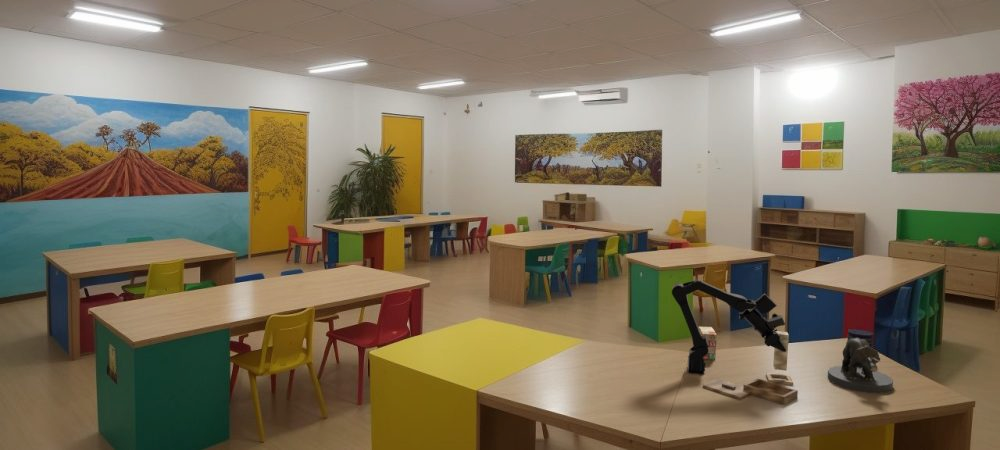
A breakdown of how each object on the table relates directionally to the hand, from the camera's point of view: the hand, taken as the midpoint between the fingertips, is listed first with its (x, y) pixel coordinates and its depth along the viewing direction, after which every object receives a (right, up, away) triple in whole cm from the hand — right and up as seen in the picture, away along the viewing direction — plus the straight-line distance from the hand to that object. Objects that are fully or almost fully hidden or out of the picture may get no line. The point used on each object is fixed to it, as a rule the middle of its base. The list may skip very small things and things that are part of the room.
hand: (784, 349), depth 245 cm
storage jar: (+44, -12, +23) cm, 51 cm away
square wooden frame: (-1, -13, +2) cm, 14 cm away
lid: (-27, -14, -9) cm, 32 cm away
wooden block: (-1, -8, +1) cm, 8 cm away
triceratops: (+31, -14, +1) cm, 34 cm away
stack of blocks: (-20, -10, +39) cm, 45 cm away
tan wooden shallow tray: (-12, -15, -14) cm, 24 cm away
